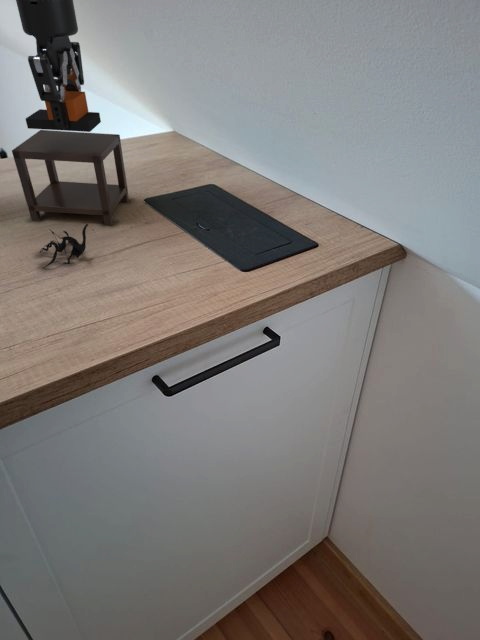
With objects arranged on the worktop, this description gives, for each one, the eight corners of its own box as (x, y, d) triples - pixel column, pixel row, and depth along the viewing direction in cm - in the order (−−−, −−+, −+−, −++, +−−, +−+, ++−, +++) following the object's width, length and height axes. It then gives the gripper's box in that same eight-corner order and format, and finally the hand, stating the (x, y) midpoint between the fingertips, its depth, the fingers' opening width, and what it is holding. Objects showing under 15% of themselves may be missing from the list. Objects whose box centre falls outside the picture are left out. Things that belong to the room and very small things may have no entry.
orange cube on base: (27, 128, 77) (19, 97, 74) (41, 118, 81) (34, 88, 78) (90, 132, 77) (84, 100, 74) (101, 122, 81) (96, 92, 78)
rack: (31, 221, 85) (11, 150, 77) (56, 196, 93) (40, 129, 85) (111, 226, 84) (99, 155, 76) (129, 200, 93) (119, 134, 85)
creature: (32, 274, 74) (78, 271, 72) (14, 242, 70) (62, 237, 68) (58, 250, 80) (101, 246, 78) (43, 219, 76) (87, 214, 74)
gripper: (38, -12, 74) (64, 109, 84) (-9, -3, 63) (28, 135, 73) (87, -10, 73) (107, 112, 84) (49, -1, 62) (77, 137, 73)
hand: (70, 122), depth 79 cm, fingers closed on orange cube on base, 5 cm apart
